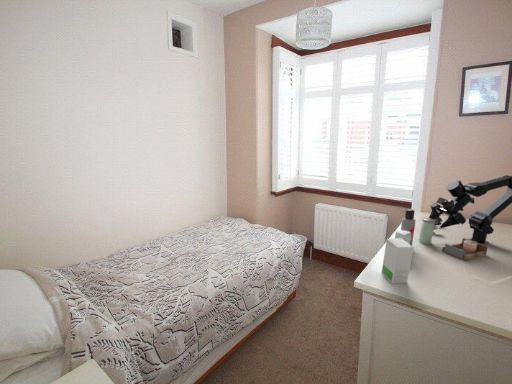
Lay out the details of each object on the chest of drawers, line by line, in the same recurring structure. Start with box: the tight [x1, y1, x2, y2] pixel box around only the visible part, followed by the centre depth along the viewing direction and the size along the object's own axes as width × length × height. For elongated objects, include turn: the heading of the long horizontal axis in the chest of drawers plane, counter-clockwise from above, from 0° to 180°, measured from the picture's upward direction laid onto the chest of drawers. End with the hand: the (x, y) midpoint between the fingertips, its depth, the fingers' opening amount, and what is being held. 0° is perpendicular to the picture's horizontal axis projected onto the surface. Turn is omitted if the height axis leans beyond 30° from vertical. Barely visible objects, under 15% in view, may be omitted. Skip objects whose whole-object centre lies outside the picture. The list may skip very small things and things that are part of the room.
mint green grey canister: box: [418, 217, 435, 246], centre depth 140 cm, size 6×6×13 cm
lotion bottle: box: [400, 208, 416, 247], centre depth 135 cm, size 6×6×20 cm
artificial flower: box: [432, 216, 443, 237], centre depth 159 cm, size 9×22×10 cm, turn 133°
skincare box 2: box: [381, 237, 414, 285], centre depth 108 cm, size 8×7×16 cm
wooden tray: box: [441, 237, 489, 262], centre depth 129 cm, size 15×11×5 cm
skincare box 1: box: [394, 229, 411, 244], centre depth 126 cm, size 6×4×12 cm
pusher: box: [443, 243, 465, 260], centre depth 127 cm, size 1×8×4 cm, turn 22°
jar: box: [462, 239, 478, 254], centre depth 131 cm, size 5×5×5 cm
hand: (433, 224), depth 140 cm, fingers open, 9 cm apart
